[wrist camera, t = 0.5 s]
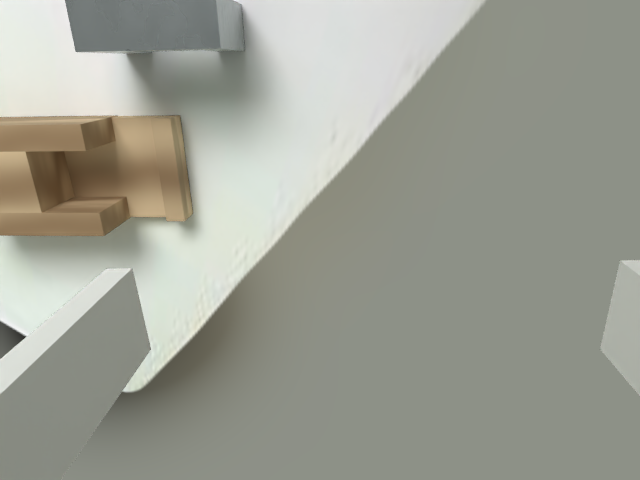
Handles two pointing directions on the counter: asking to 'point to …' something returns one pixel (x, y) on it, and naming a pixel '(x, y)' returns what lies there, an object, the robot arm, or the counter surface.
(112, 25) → the clip
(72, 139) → the rail
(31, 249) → the counter surface
